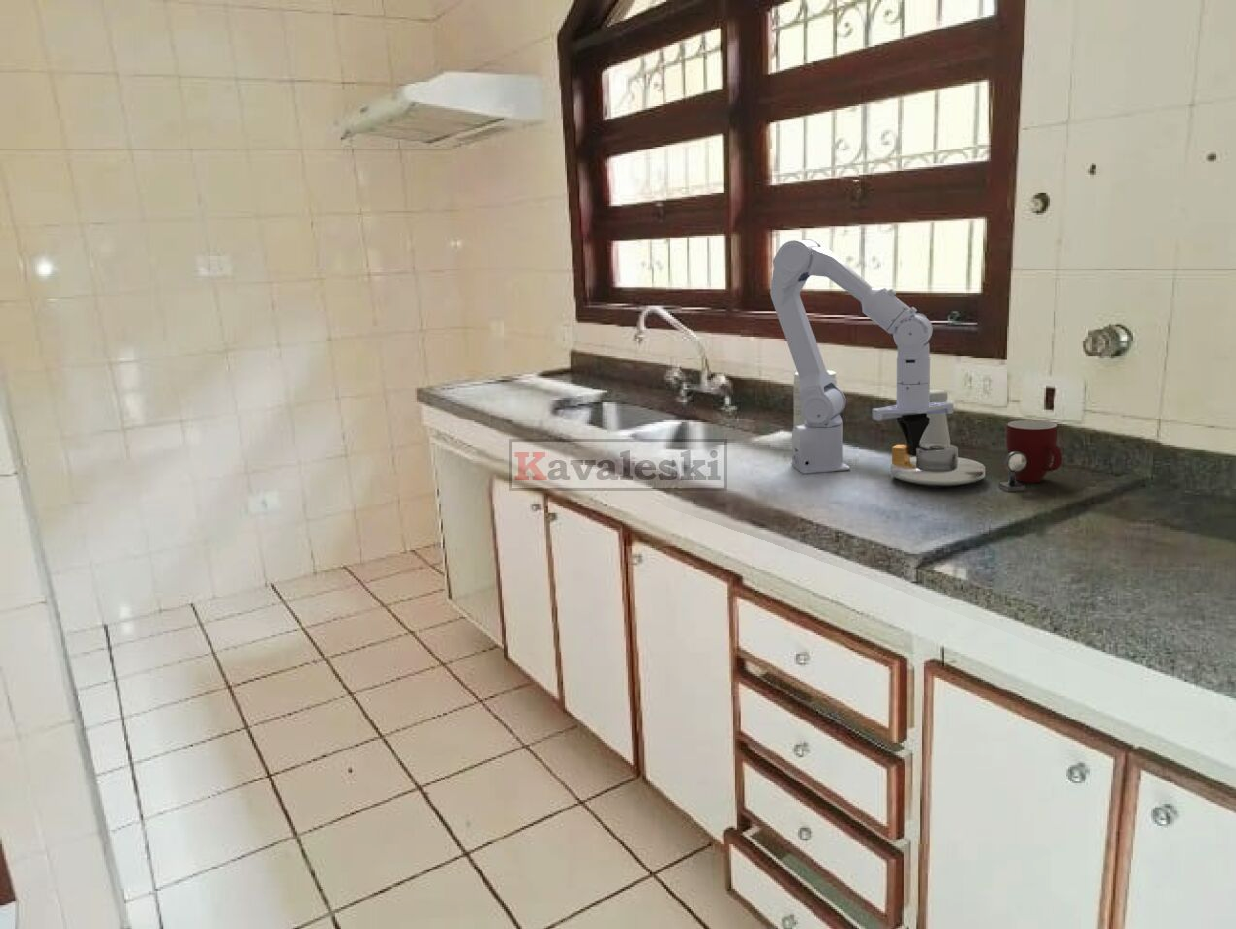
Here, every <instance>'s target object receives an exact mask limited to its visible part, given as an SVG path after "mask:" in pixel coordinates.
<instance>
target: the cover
mask: <svg viewBox="0 0 1236 929" xmlns="http://www.w3.org/2000/svg"><path fill="white" fill-rule="evenodd" d="M915 457H916V467H917V468H918V469H920V470H924V471H931V472H947V471H952V470H955V469H957V466H958V457H959V447H958V446H955V445H953V444H950V445H949V444H923V445H920V444H919V446H917V447H916V456H915Z"/></svg>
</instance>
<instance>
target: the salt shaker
mask: <svg viewBox="0 0 1236 929" xmlns="http://www.w3.org/2000/svg"><path fill="white" fill-rule="evenodd" d="M948 398H949V396H948V392H947V391H945V389H939V388H937V389H935V388H934V389H930V402H948ZM927 417H928V418H930V422H929V424H928V426H927V428H926V429H925V431H924V433H923V435H922V437H921V440H920V443H919V445H923V444H949V445H951V439H950V433H949V432H950V431H949V426H948V425H949V424H948V418H947V413H943V414H933V415H927Z"/></svg>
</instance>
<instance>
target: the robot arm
mask: <svg viewBox="0 0 1236 929" xmlns="http://www.w3.org/2000/svg"><path fill="white" fill-rule="evenodd" d="M772 265H773V270H772V277H771V283H770V290H769V294H770V298H771V301H772V304H773V306H774V310H775V313H776V315H777V317H778V321H779V323H780V327H781V329H782V332H783V334H784V338H785V340H786V341H785V342H786V343H787V347H788V349H789V352H790V355H791V358H792V360H793V364H794V365H795V368H796V372H798V375H799V377H800V389H799V393H800V396H801V400H802V404H801V413H802V416H803V418H804V419H805V424H803V425H800V426H795V427H794V426H793V428H792V430H791V454H792V455H791V460H792V461H791V463H790V464H791V466H793V467H794V468H795V469H797V470H798V472H800V473H801V474H804V475H806V474H814V473H815V474H818V473H827V472H839V471H849V470H851V467H850V466H849V465H847V464H846V463H845V462H843V461H844V458H843V457H844V456H843V454H844V453H843V452H844V451H843V449H844V447H843V444H844V443H843V442H844V440H843V438H844V436H843V435H844V434H843V422H844V421H843V419H842V417H841V413H842V412H843V411H844V409H845V406H846V397H845V394H844V392H843V391H842V390H841V389H840V388H839V387H838V385H837V386H836V384H835V382H834V379H833V377H832V376H831V375H830V374H829V373H828V372H827V371H826V370H827V369H826V366H825V364H824V363H825V362H824V360H823V358H822V354H821V352H820V348H819V346H818V343H817V340H816V337H815V335H814V331H813V329H812V326H811V323H810V320H809V317H808V315H807V312H806V309H805V306H804V303H803V300H802V298H801V292H802V290H803V288H804V286H805V284H806V282H807V281H808V279H809V278H810V277H811V276H817V277H826V278H828V279H829V280H831V281H832V282H833V283H835V284H836V285H837V286H839V287H840V288H841V289H843V290H844V291H845V292H847V293H849V294H850V295H851V296H852V297H854V298H855V299H856V300H858V301H859V302H860V303H861V308H862V313H863V314H864V315H866V317H868V318H869V319H870V320H871V321H873V322H874V323H875V324H876V325H878V326H879V327H880V328H882V330H884V331H885V332H887V334H889V335H892V337H893V341H894V343H895V344H896V346H897V357H896V404H893V405H889V406H883V407H876V408H872V419H873V420H875V421H882V420H889V419H890V420H891V419H896V421H897V423H898V425H899V426H900V429H901V430H902V433H903V435H904V437H905V438H904V439H905V442H906V444H907V446H910V456H911V457H916V447H917V446H919V445H920V440H921V437H922V435H923V433H924V431H925V429H926V428H927V426H928V424H929V422H930V418H928V417H927V415H933V414H943V413H946V415H951V414H954V403H953V402H951V401H946V402H930V390H931V389H930V388H931V386H930V384H931V381H930V380H931V356H930V342H929V341H930V340H931V338H932V335H933V332H934V328H933V325H932V322H931V321H930V319H928V317H927V315H925V314H923V313H917V311H918V310H917V309H916V307H914V306H912V307H910V306H908V305H907V304H906V303H905V302H903V301H902V300H901V299H899V298H898V297H897V296H896V295H897V291H895V290H894V289H893V288H891V289H887V288H886V287H885V286H884V287H883V286H882V287H875V288H874V287H873V286H872V285H870V284H869V283H868V282H867V281H866V280H865V279H864V278H862V276H860V275H859V274H858V273H857V272H856V271H855V270H854V269H852V268H851V267H850V266H849V265H848V264H847V263H845V262H844V261H843V260H842V259H841V258H839V257H838V256H837V255H836V254H835V253H834V252H832V251H831V250H830V249H829V248H826V247H825V246H821V244H820V243H819V242H818V241H817V240H815V239H809V238H808V239H807V238H805V239H803V240H798V239H792V240H788V241H785V242H784V243H783V244H782V245H781V246H780V247H779V249H778V251H777V253H776V255H775V256H774V258H773V259H772Z"/></svg>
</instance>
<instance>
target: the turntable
mask: <svg viewBox="0 0 1236 929" xmlns="http://www.w3.org/2000/svg"><path fill="white" fill-rule="evenodd" d="M890 475H891V476H892V477H893V478H895V479H896V480H897V479H899V480H900V481H903V482H908V483H911V484H913V483H917V484H926V485H959V484H963V485H965V484H971V483H975V482H978V481H981V480H982V479H984V478H985V477H986V466H985V465H984V464H983V463H981V462H979V461H976V460H974V459H969V458H964V457H959V456H958V466H957V469H955V470H952V471H947V472H931V471H924V470H920V469H918V468H917V467H916V456H911V455H910V446H908V445H905V444H896V445H894V446H892V449H891V464H890Z"/></svg>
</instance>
